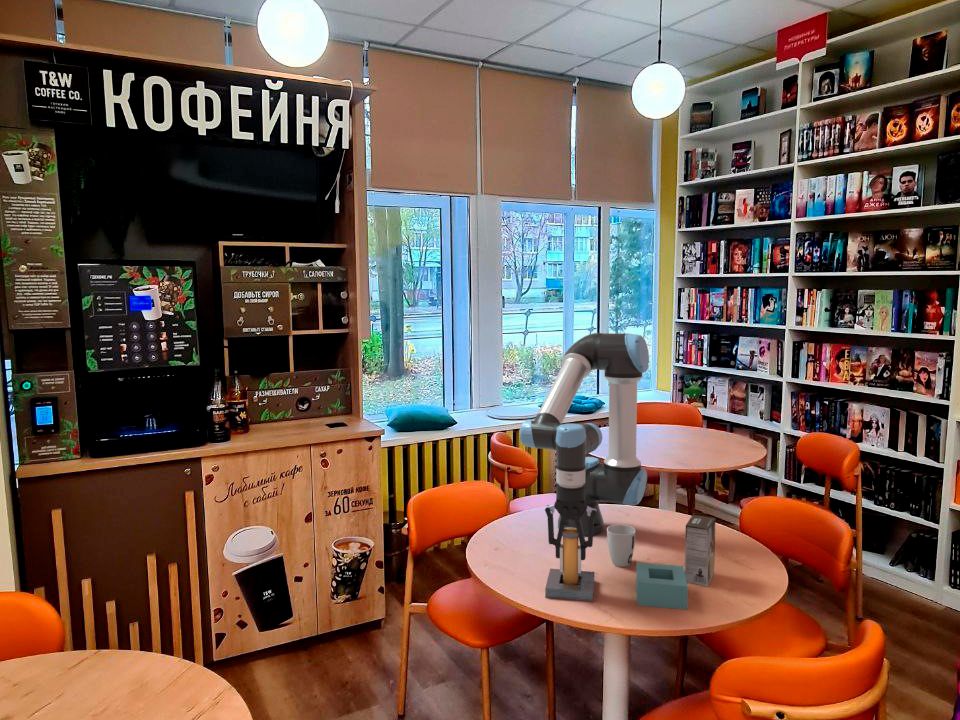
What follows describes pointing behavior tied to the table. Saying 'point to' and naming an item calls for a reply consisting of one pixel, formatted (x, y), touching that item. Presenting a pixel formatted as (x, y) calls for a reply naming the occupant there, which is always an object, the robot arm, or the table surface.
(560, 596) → the mount
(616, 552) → the cup
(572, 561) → the pin
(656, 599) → the socket
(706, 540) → the coffee box
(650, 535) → the table surface
